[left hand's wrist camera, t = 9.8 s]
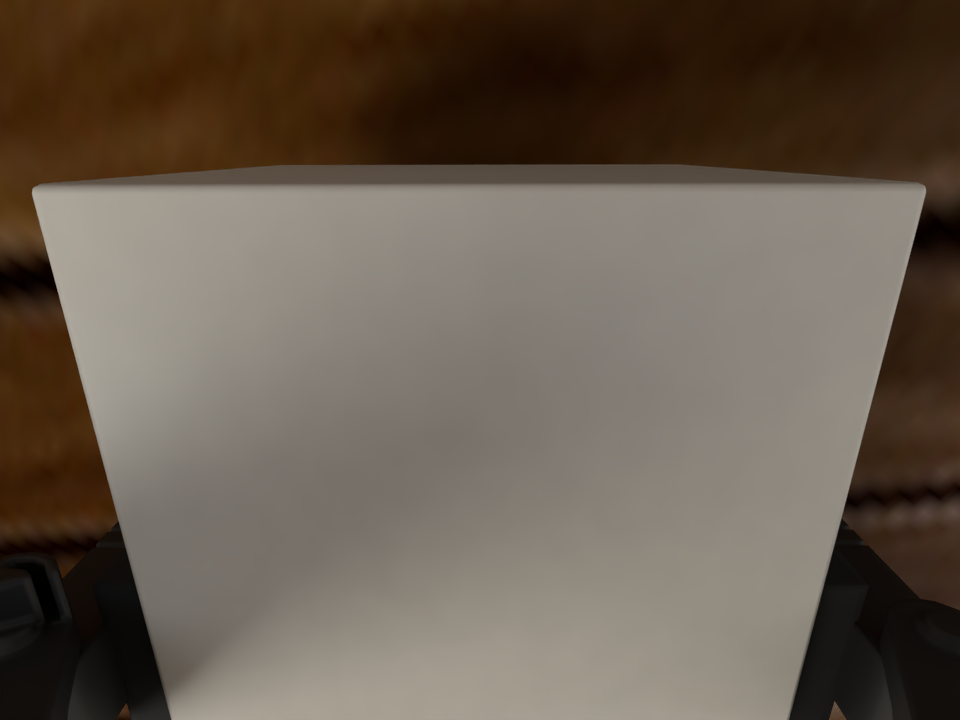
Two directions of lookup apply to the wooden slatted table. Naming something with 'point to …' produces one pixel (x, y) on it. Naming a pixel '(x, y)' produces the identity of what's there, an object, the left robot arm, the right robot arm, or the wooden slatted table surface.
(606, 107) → the wooden slatted table surface
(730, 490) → the long square beam
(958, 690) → the left robot arm
